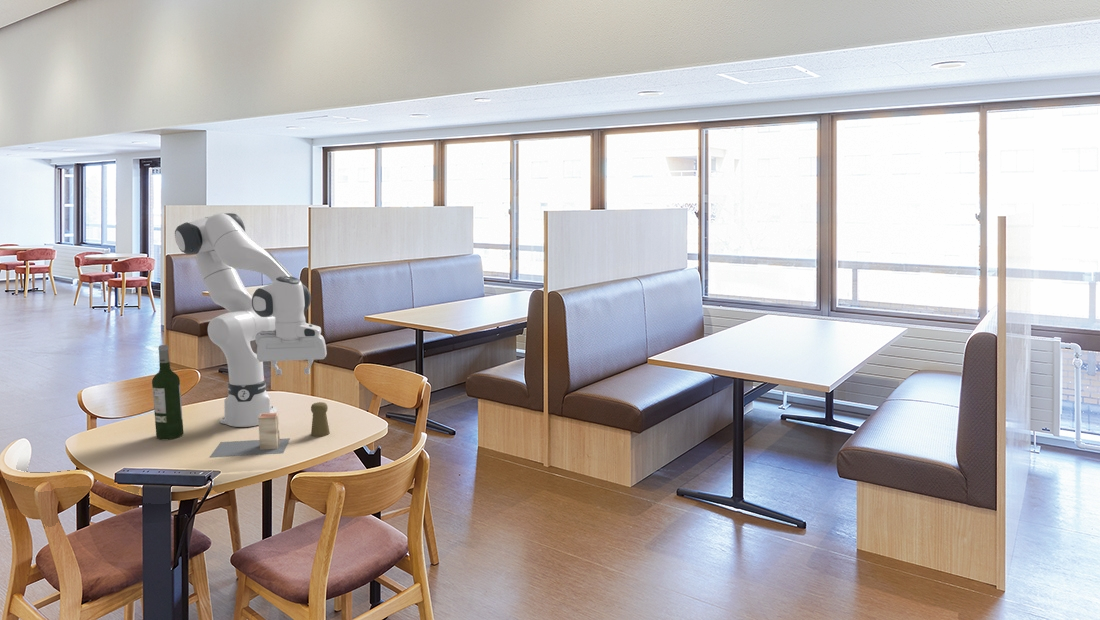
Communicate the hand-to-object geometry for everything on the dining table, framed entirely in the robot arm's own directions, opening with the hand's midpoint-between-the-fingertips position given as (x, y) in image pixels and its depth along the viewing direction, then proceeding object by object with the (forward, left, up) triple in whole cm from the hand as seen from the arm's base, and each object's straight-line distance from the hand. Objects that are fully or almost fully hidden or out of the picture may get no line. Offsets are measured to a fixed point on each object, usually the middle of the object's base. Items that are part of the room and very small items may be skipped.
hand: (293, 374), depth 228 cm
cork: (-10, +6, -24) cm, 26 cm away
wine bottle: (-18, -42, -24) cm, 51 cm away
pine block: (0, -8, -23) cm, 24 cm away
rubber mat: (0, -13, -23) cm, 27 cm away
